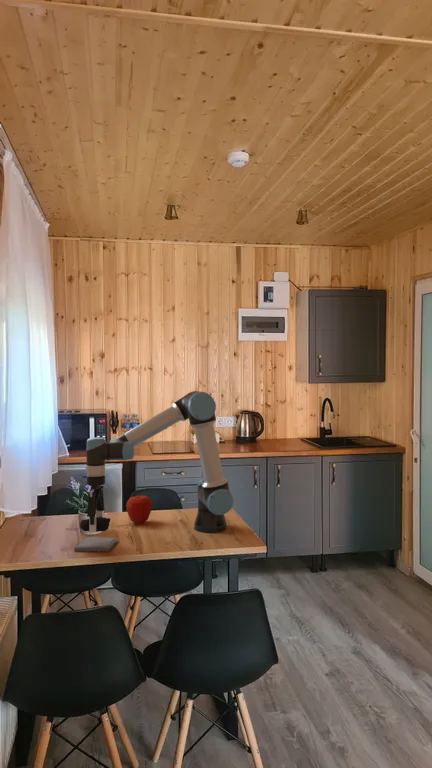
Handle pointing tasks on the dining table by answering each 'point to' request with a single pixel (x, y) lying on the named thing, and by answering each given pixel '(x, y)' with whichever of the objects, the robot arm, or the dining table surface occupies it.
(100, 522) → the mineral
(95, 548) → the plate
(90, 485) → the robot arm
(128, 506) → the apple
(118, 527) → the dining table surface
